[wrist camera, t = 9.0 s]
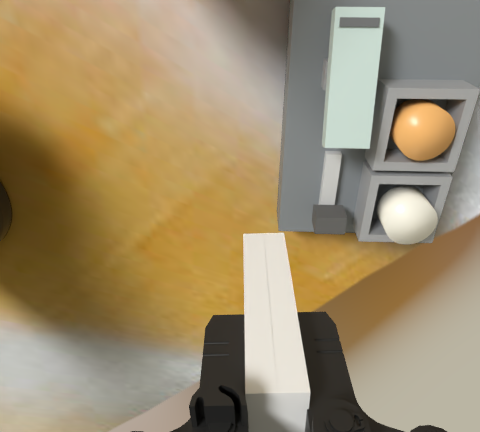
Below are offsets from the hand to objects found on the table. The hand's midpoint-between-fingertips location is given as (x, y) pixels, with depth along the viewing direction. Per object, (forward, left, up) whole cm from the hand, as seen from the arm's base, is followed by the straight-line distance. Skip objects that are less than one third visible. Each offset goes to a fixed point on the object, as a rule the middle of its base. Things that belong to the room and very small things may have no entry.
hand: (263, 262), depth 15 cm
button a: (+13, -9, -21) cm, 26 cm away
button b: (+13, -2, -22) cm, 26 cm away
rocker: (+7, +2, -20) cm, 21 cm away
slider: (+7, -11, -22) cm, 25 cm away
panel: (+10, -2, -27) cm, 29 cm away
